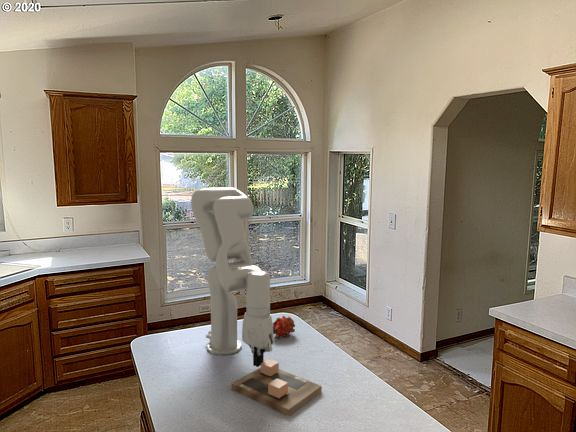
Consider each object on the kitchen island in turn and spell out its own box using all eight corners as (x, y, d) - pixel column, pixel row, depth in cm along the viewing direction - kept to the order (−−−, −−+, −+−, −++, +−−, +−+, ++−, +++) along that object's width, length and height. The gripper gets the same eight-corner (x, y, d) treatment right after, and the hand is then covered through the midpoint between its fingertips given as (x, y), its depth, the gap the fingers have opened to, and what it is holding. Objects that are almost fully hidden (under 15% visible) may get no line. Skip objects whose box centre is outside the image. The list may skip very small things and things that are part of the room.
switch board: (231, 389, 131) (231, 383, 131) (266, 369, 143) (266, 363, 143) (288, 416, 117) (288, 409, 117) (321, 392, 130) (321, 385, 130)
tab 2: (268, 393, 124) (268, 383, 124) (277, 387, 127) (277, 378, 127) (279, 398, 122) (279, 388, 121) (287, 392, 125) (287, 382, 124)
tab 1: (260, 372, 136) (260, 363, 136) (269, 367, 140) (269, 358, 139) (270, 376, 134) (270, 367, 134) (278, 371, 137) (278, 362, 137)
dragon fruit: (294, 335, 176) (275, 349, 167) (280, 320, 179) (261, 332, 170) (303, 322, 171) (284, 336, 162) (288, 307, 174) (269, 319, 165)
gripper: (233, 308, 139) (233, 362, 141) (268, 318, 130) (268, 376, 132) (249, 302, 145) (249, 354, 147) (283, 312, 136) (283, 367, 138)
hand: (258, 364), depth 140 cm, fingers closed
